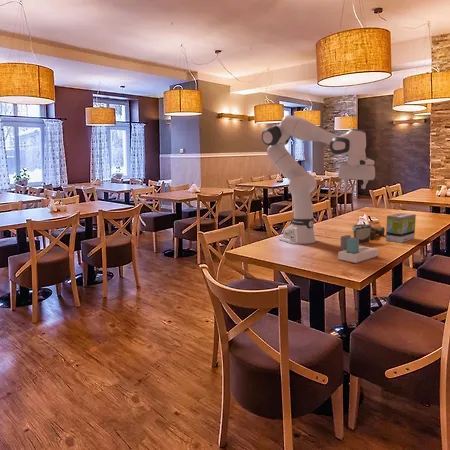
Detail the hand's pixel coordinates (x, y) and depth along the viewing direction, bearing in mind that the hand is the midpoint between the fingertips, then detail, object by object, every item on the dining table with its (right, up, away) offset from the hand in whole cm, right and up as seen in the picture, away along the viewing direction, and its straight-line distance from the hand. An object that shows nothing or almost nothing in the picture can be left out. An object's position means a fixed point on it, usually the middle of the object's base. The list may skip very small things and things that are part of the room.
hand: (355, 188), depth 216 cm
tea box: (+33, -28, +24) cm, 50 cm away
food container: (+9, -29, +22) cm, 37 cm away
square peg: (-6, -36, -15) cm, 39 cm away
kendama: (+23, -27, +36) cm, 50 cm away
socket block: (-3, -36, -12) cm, 38 cm away
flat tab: (-5, -34, -1) cm, 34 cm away
